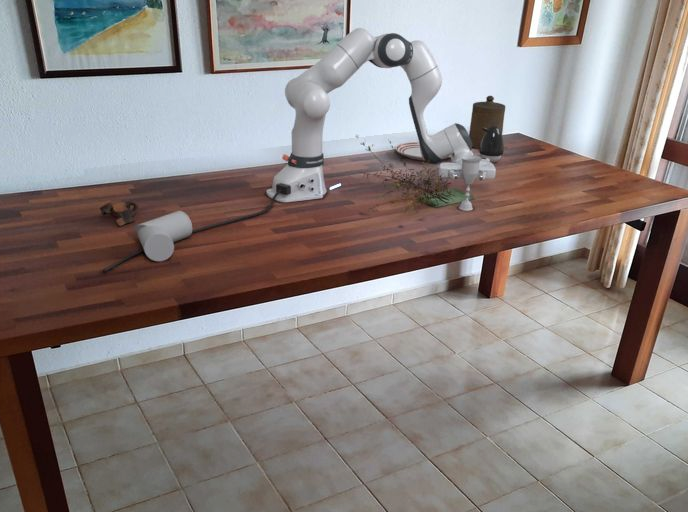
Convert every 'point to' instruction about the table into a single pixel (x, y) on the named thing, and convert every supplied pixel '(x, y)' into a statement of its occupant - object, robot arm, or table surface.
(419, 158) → the dinner plate
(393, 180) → the dried plant
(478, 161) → the chalice
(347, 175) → the table surface
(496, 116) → the wooden container
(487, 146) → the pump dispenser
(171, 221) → the bent grey cylinder
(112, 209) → the brown irregular block
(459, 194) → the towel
